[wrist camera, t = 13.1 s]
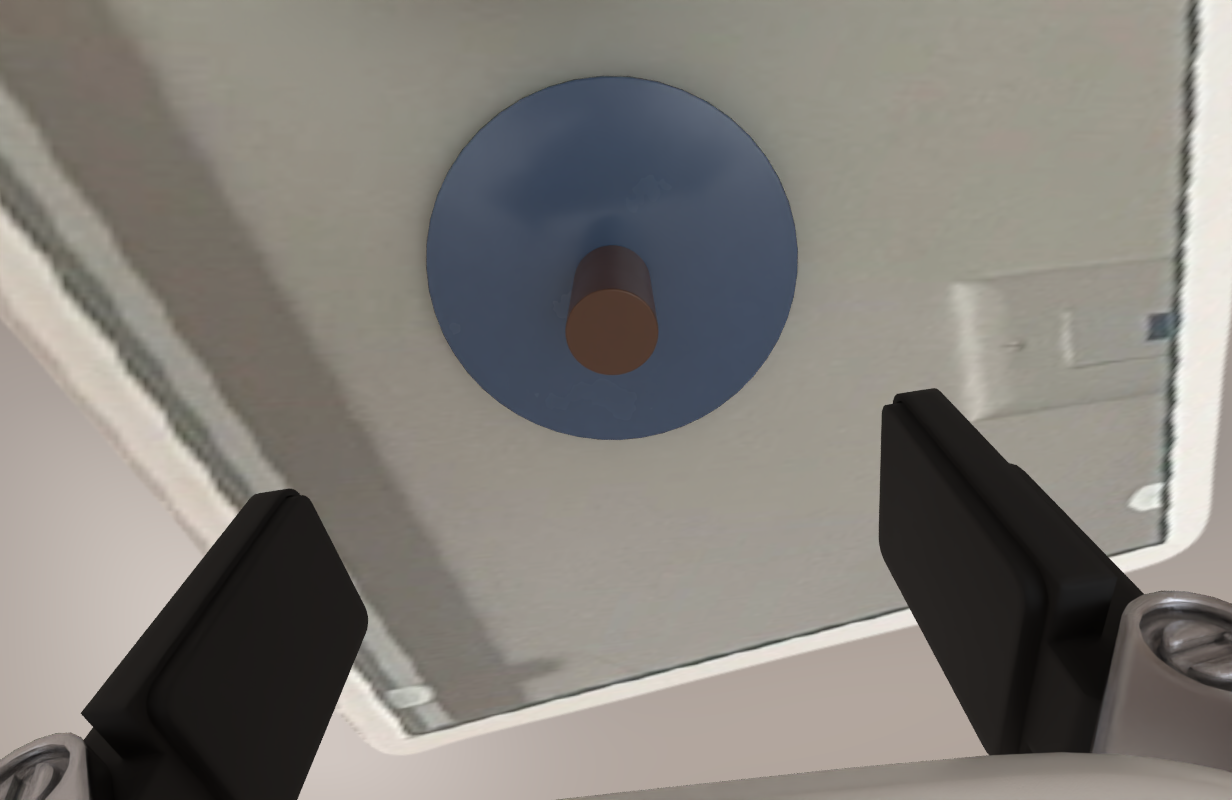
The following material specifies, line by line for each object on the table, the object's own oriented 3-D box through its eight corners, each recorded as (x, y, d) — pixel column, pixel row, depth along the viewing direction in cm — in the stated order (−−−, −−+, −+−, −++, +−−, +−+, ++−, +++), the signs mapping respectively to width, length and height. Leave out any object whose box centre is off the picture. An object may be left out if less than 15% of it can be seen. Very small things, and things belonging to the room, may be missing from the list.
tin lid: (382, 117, 22) (306, 137, 17) (779, 37, 21) (837, 30, 16) (488, 447, 28) (458, 540, 23) (798, 399, 27) (844, 484, 22)
